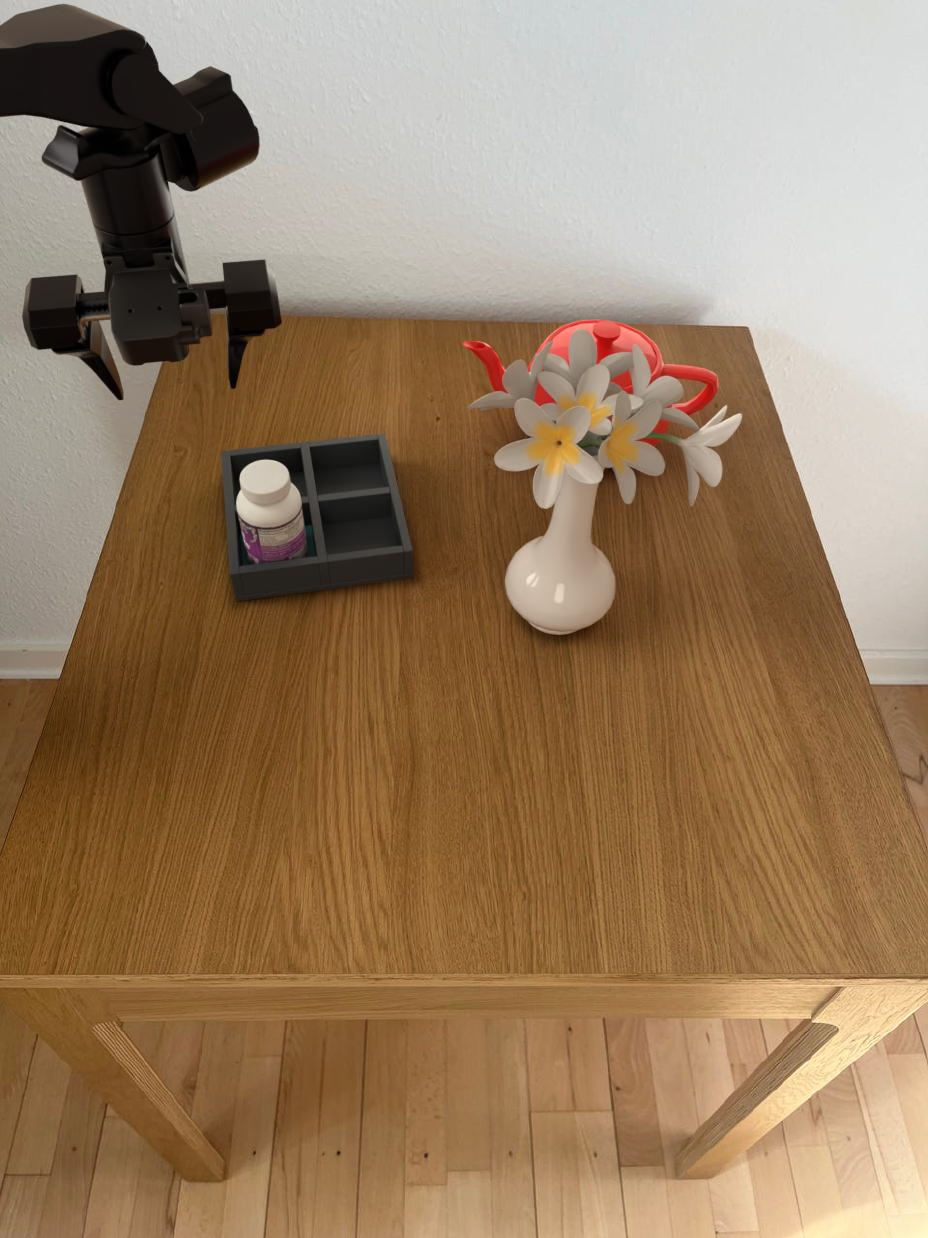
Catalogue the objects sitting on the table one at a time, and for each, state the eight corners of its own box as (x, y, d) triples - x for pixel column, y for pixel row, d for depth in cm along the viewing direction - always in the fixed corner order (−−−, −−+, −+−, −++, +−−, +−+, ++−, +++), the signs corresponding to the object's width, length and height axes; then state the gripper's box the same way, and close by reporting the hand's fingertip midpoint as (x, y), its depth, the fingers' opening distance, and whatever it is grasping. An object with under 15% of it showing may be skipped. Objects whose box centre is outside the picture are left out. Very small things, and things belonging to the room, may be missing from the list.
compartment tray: (236, 601, 81) (229, 574, 78) (227, 479, 90) (220, 450, 87) (413, 578, 83) (413, 550, 80) (386, 461, 92) (385, 432, 90)
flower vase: (678, 667, 78) (766, 435, 59) (457, 663, 78) (470, 427, 58) (658, 552, 86) (728, 313, 67) (457, 547, 86) (468, 305, 66)
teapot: (696, 391, 101) (725, 290, 91) (709, 492, 91) (742, 391, 82) (464, 373, 101) (469, 271, 92) (452, 472, 92) (456, 369, 82)
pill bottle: (241, 541, 84) (224, 460, 77) (299, 528, 85) (288, 446, 78) (255, 585, 81) (238, 505, 73) (315, 570, 82) (304, 490, 75)
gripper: (-17, 289, 61) (56, 469, 73) (274, 265, 64) (298, 442, 76) (-1, 201, 67) (64, 379, 80) (262, 183, 70) (285, 358, 83)
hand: (177, 391), depth 79 cm, fingers open, 9 cm apart
